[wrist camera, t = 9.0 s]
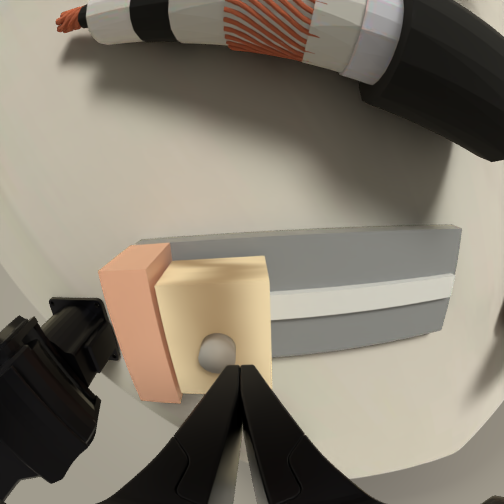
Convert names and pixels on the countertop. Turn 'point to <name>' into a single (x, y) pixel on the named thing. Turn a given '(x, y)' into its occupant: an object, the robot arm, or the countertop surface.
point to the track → (293, 290)
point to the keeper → (216, 318)
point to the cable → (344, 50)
